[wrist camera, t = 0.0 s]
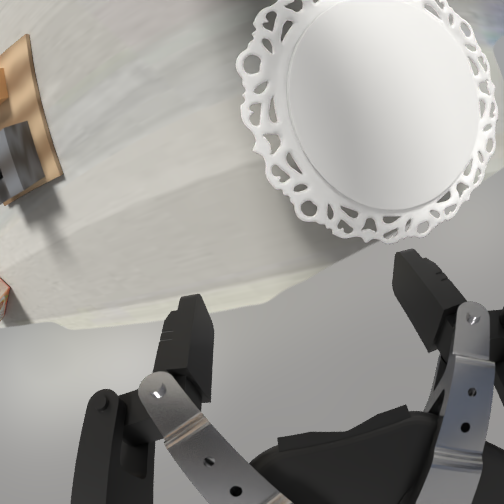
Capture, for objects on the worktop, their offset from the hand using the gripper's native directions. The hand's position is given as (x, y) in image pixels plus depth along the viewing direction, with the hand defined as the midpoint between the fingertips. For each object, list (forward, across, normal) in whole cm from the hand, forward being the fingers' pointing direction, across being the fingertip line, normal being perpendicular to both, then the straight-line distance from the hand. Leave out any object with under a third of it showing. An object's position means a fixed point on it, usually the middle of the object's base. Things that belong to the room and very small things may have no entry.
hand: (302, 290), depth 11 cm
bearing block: (+29, +37, -18) cm, 51 cm away
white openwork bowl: (+30, -15, -5) cm, 33 cm away
